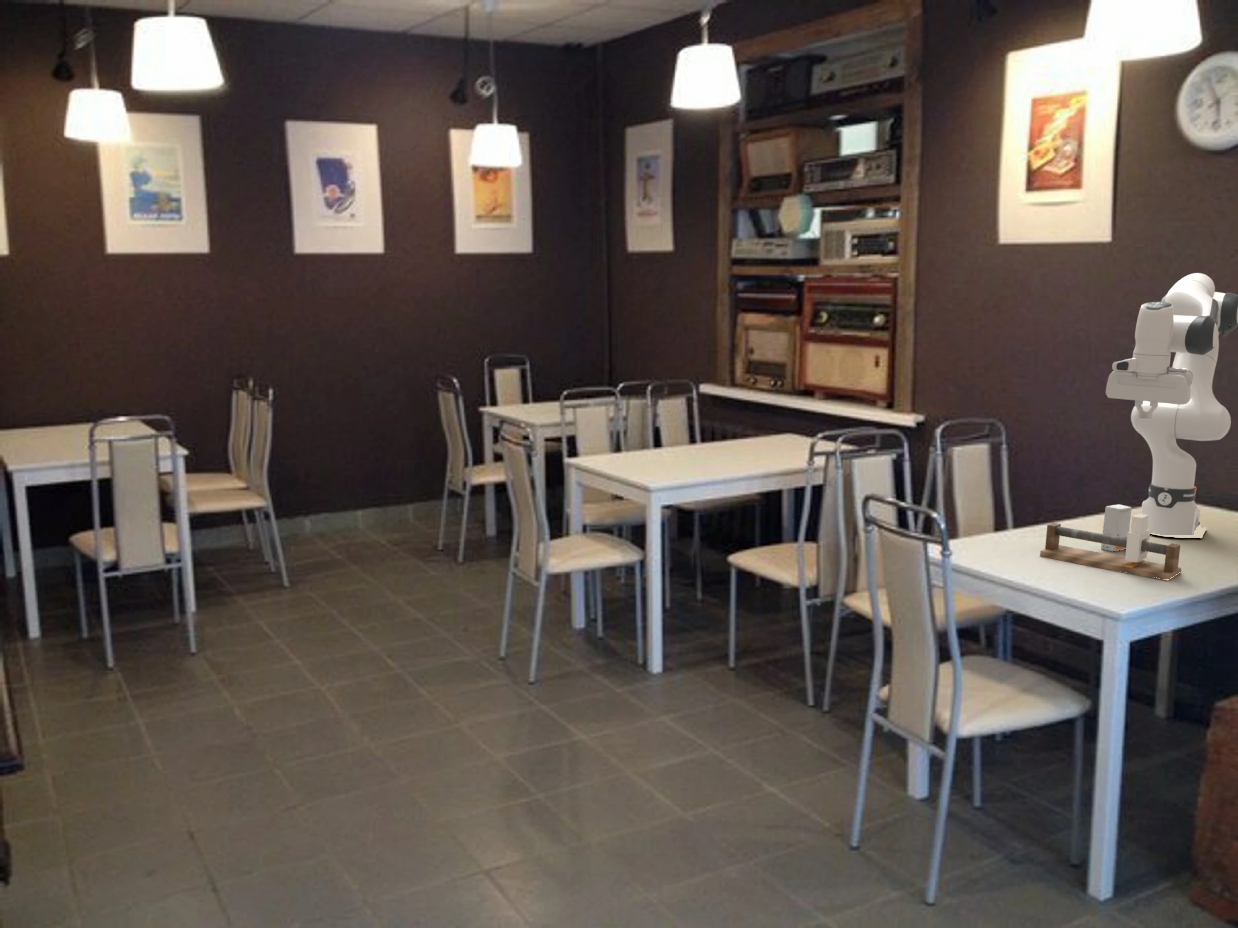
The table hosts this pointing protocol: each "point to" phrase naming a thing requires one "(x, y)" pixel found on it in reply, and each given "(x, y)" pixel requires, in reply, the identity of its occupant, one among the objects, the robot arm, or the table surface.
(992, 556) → the table surface
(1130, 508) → the skincare box
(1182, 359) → the robot arm
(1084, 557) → the pipe stand
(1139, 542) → the collar
